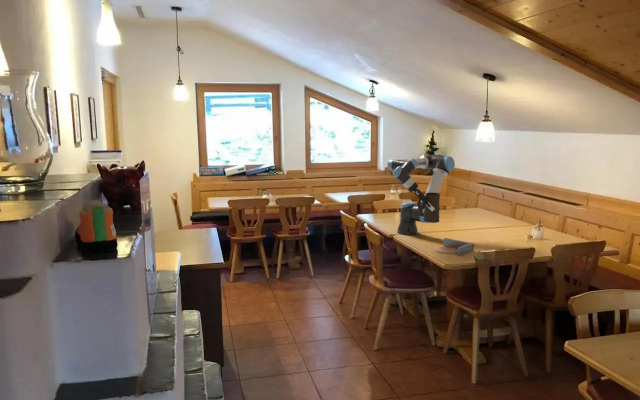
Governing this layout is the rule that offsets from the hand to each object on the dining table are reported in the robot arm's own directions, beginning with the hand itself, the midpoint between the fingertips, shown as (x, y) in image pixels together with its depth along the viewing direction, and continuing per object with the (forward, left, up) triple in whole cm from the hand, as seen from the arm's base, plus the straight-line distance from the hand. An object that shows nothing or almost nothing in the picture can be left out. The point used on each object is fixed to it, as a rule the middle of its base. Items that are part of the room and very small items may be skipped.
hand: (433, 208), depth 349 cm
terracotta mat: (+11, +17, -24) cm, 32 cm away
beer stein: (+2, -2, -9) cm, 10 cm away
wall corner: (+7, +20, -24) cm, 32 cm away
